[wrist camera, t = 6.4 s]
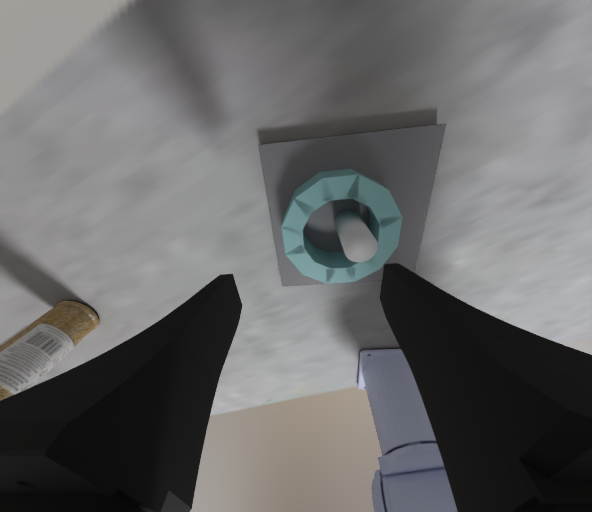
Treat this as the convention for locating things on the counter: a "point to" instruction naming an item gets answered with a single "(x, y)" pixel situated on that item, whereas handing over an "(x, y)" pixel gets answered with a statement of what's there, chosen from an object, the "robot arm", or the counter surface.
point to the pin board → (348, 212)
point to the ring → (338, 187)
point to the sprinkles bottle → (42, 345)
